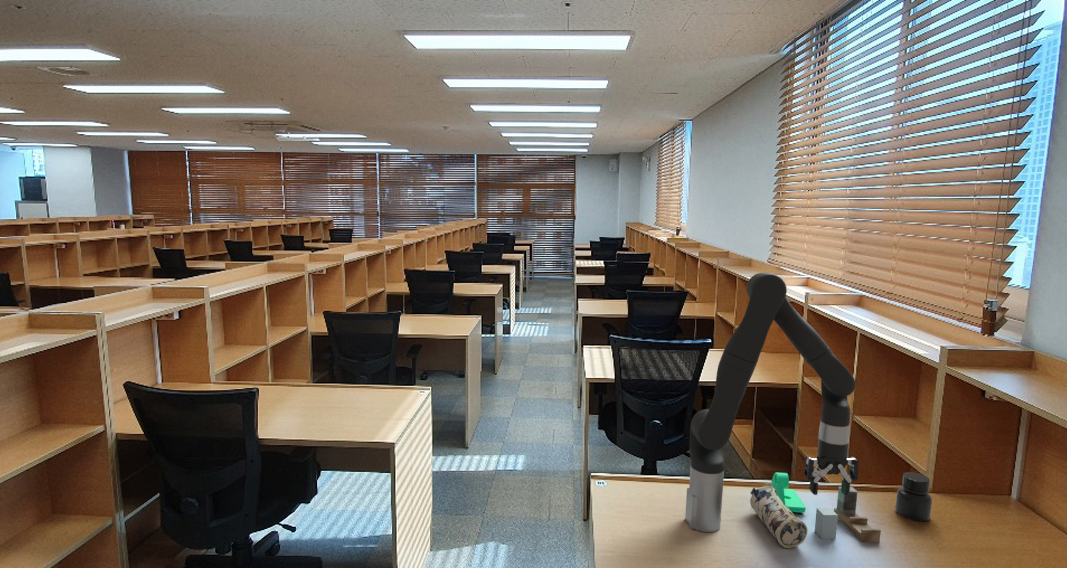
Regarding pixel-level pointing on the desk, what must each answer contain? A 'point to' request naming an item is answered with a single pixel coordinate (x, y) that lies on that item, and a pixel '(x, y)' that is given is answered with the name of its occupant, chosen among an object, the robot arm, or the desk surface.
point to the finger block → (826, 523)
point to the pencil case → (778, 516)
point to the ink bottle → (914, 497)
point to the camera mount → (787, 493)
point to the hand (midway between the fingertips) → (829, 493)
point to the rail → (855, 517)
